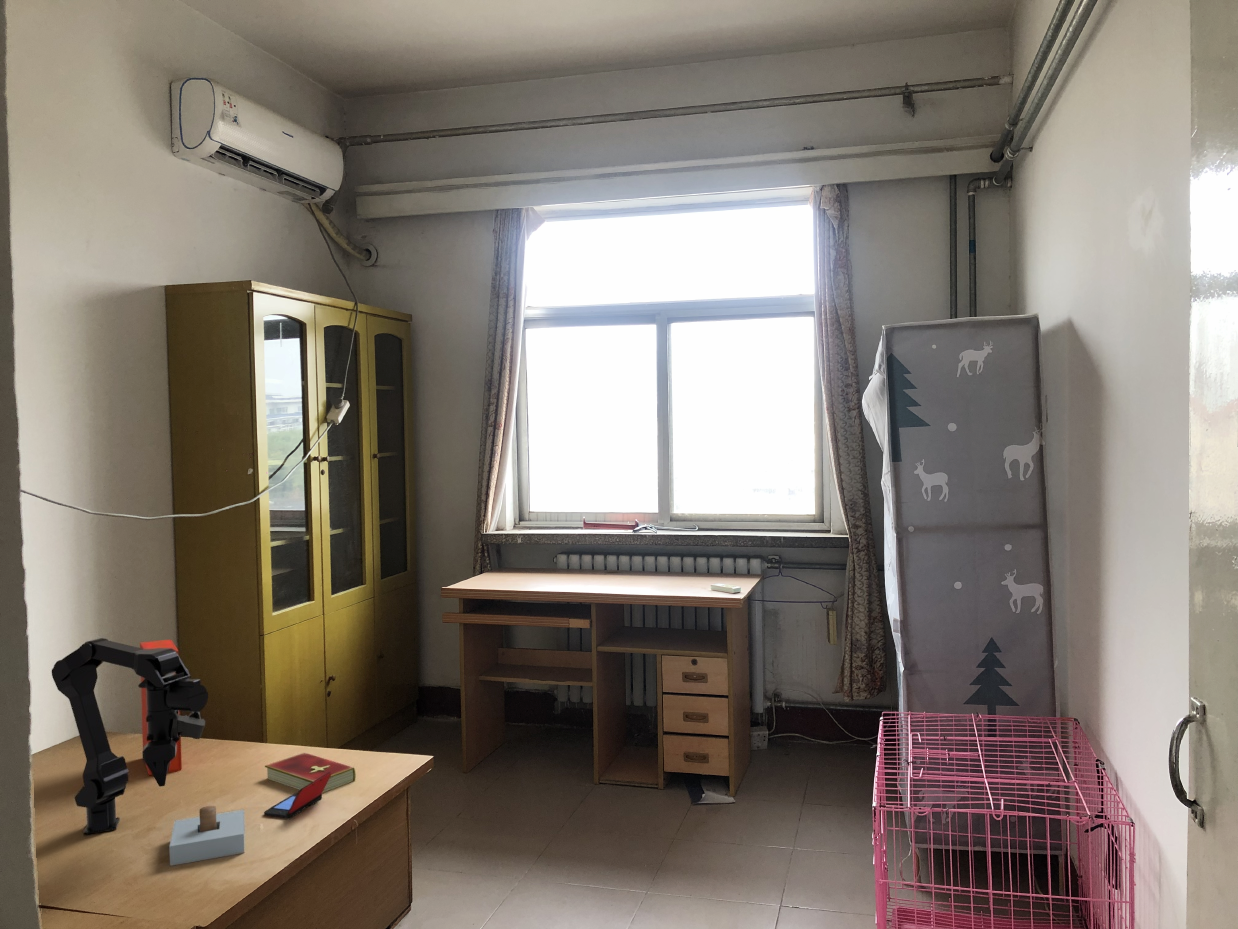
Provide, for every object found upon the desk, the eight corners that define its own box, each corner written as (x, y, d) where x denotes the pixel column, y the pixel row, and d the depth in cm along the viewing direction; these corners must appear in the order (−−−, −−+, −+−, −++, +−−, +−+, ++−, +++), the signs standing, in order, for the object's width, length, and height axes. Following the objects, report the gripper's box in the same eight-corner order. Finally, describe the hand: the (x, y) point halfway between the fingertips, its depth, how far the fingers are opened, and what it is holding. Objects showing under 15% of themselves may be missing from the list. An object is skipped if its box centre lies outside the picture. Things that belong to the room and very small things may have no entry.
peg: (201, 844, 197) (199, 807, 196) (217, 841, 198) (216, 804, 198) (200, 850, 194) (199, 812, 193) (217, 847, 195) (215, 810, 195)
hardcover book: (306, 766, 244) (305, 751, 244) (355, 782, 232) (355, 765, 232) (265, 780, 235) (264, 764, 235) (315, 798, 222) (314, 780, 222)
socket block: (175, 838, 200) (174, 820, 200) (244, 827, 205) (244, 809, 205) (170, 865, 187) (169, 846, 187) (244, 852, 192) (243, 833, 192)
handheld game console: (296, 796, 223) (295, 766, 223) (334, 801, 219) (333, 770, 219) (261, 817, 211) (260, 785, 211) (300, 822, 208) (299, 789, 207)
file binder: (175, 752, 258) (170, 639, 257) (183, 770, 243) (178, 650, 242) (143, 758, 253) (138, 643, 253) (149, 776, 239) (144, 654, 238)
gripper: (199, 715, 194) (202, 787, 195) (204, 693, 212) (206, 760, 212) (141, 721, 190) (143, 796, 191) (150, 698, 208) (152, 767, 208)
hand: (163, 778), depth 200 cm, fingers open, 9 cm apart
